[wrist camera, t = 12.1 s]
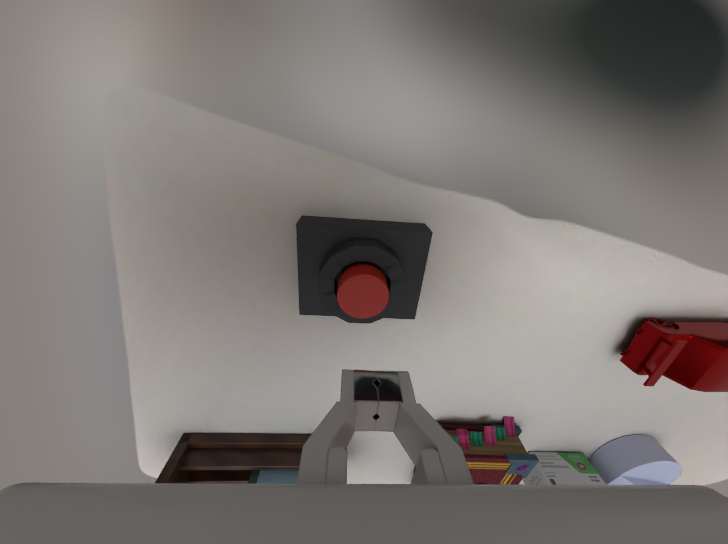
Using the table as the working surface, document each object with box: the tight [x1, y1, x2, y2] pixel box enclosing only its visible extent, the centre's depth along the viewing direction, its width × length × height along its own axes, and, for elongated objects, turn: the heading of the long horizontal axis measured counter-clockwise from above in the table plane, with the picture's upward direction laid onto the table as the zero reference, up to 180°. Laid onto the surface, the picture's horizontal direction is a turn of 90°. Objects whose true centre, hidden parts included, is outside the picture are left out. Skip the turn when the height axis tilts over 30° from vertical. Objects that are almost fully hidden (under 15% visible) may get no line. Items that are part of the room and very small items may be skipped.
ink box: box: [523, 452, 606, 485], centre depth 33 cm, size 9×5×12 cm, turn 84°
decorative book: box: [414, 417, 539, 485], centre depth 34 cm, size 11×16×5 cm
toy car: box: [620, 318, 728, 392], centre depth 26 cm, size 14×6×5 cm, turn 87°
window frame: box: [155, 433, 347, 484], centre depth 28 cm, size 20×6×14 cm, turn 85°
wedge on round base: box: [591, 435, 682, 485], centre depth 36 cm, size 9×7×13 cm
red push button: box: [337, 264, 389, 318], centre depth 19 cm, size 4×4×2 cm
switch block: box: [296, 216, 432, 323], centre depth 21 cm, size 10×8×4 cm
